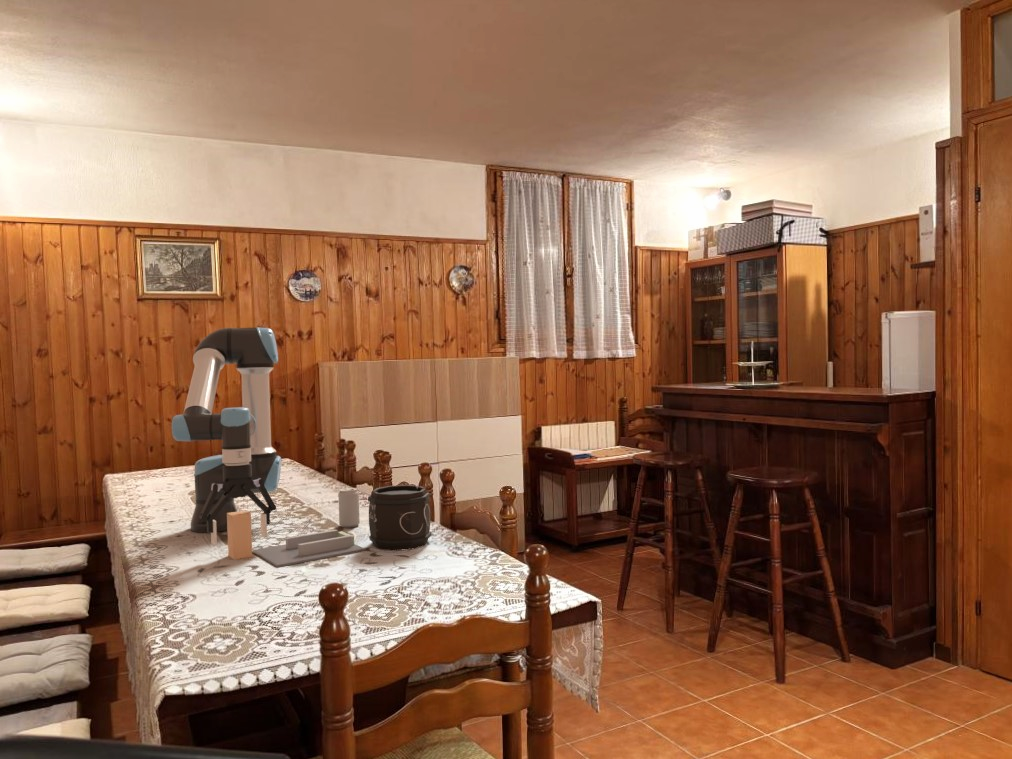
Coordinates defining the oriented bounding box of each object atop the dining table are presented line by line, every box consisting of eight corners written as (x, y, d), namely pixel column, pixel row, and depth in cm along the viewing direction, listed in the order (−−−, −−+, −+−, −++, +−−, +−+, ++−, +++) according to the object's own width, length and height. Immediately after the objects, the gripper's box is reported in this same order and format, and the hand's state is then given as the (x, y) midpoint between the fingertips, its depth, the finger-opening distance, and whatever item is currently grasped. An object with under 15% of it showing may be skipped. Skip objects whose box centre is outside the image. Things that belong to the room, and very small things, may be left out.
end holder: (252, 552, 213) (252, 539, 213) (335, 537, 228) (335, 525, 227) (277, 567, 197) (276, 553, 196) (365, 550, 211) (364, 537, 211)
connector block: (228, 556, 209) (226, 513, 209) (246, 552, 212) (245, 510, 212) (233, 559, 205) (232, 515, 205) (252, 556, 208) (250, 513, 208)
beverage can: (355, 528, 239) (353, 490, 239) (336, 528, 241) (334, 490, 240) (362, 524, 246) (361, 487, 245) (344, 523, 247) (343, 487, 246)
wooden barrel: (443, 538, 224) (442, 485, 223) (411, 553, 207) (409, 496, 207) (392, 533, 231) (391, 482, 231) (357, 547, 215) (355, 493, 214)
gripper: (193, 469, 198) (195, 550, 198) (286, 460, 212) (288, 535, 213) (185, 466, 204) (188, 545, 204) (276, 458, 218) (279, 531, 219)
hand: (239, 540), depth 208 cm, fingers open, 13 cm apart
